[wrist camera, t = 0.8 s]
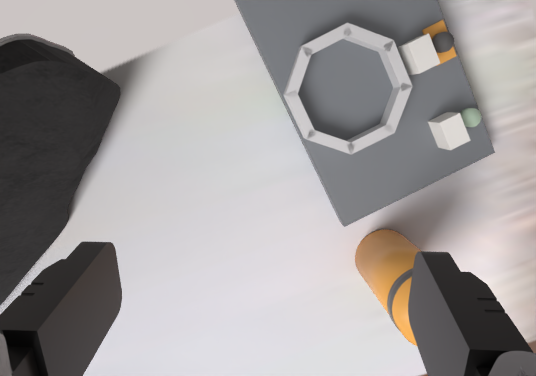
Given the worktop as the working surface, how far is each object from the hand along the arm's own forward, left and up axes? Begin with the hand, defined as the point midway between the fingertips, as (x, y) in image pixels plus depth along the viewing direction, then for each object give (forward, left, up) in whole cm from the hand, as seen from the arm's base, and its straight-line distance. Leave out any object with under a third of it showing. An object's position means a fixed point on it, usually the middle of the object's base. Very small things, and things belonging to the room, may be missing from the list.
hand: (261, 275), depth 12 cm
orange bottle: (+13, +7, -23) cm, 27 cm away
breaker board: (-1, +11, -23) cm, 26 cm away
